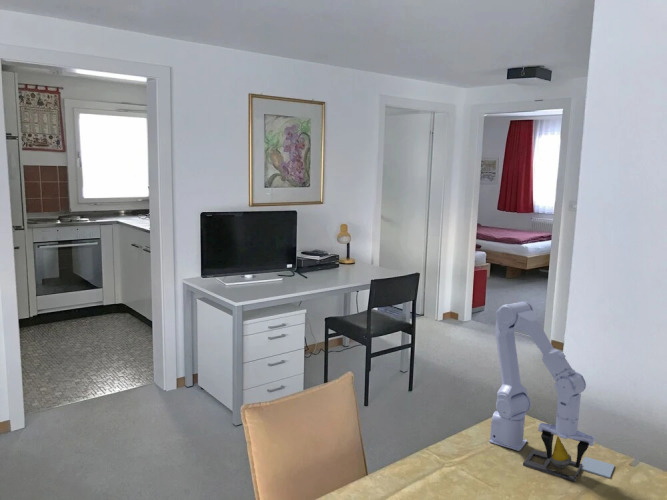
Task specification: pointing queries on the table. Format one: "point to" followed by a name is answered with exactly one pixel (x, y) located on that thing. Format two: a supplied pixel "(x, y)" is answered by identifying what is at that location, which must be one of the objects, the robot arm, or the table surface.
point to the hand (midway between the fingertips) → (563, 461)
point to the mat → (597, 467)
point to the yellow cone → (560, 455)
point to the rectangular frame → (546, 464)
